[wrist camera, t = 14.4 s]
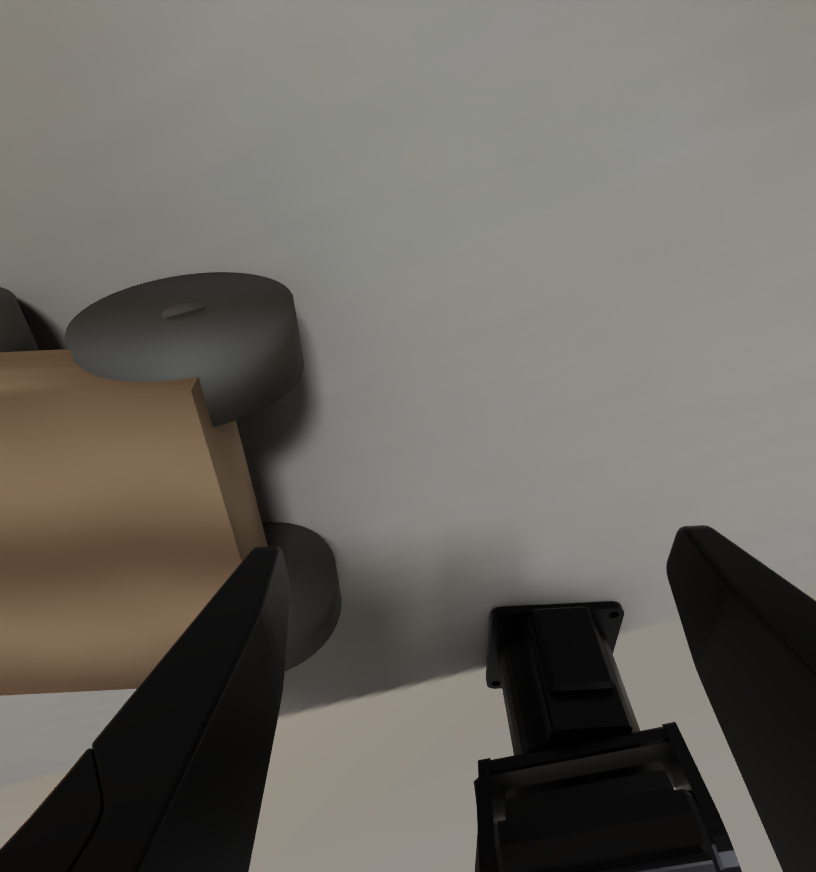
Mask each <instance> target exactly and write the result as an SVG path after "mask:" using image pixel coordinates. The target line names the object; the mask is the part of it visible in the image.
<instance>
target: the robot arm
mask: <svg viewBox="0 0 816 872" xmlns="http://www.w3.org/2000/svg"><path fill="white" fill-rule="evenodd" d="M666 568H667V576H668V580H669V583H670V587H671V590H672V593H673V596H674V600H675V603H676V606H677V609H678V613H679V616H680V619H681V622H682V626H683V629H684V632H685V635H686V639H687V642H688V645H689V648H690V652H691V655H692V658H693V661H694V664H695V667H696V670H697V672H698V674H699V677H700V679H701V682H702V684H703V687H704V689H705V691H706V694H707V696H708V698H709V701H710V703H711V705H712V708H713V710H714V712H715V715H716V717H717V719H718V722H719V724H720V726H721V728H722V731H723V733H724V735H725V738H726V740H727V743H728V745H729V747H730V749H731V752H732V754H733V756H734V758H735V761H736V763H737V766H738V768H739V770H740V773H741V775H742V777H743V780H744V782H745V784H746V786H747V789H748V791H749V794H750V796H751V798H752V800H753V803H754V805H755V808H756V810H757V812H758V814H759V817H760V819H761V821H762V824H763V826H764V828H765V830H766V833H767V835H768V838H769V840H770V842H771V845H772V847H773V849H774V852H775V854H776V856H777V858H778V861H779V863H780V866H781V868H782V870H783V872H816V601H815V600H814V599H812V598H811V597H810V596H808V595H807V594H805V593H804V592H802V591H801V590H800V589H798V588H797V587H795V586H794V585H792V584H791V583H790V582H788V581H787V580H785V579H784V578H783V577H781V576H780V575H778V574H777V573H775V572H774V571H773V570H771V569H770V568H768V567H767V566H765V565H764V564H763V563H761V562H760V561H758V560H757V559H756V558H754V557H753V556H751V555H750V554H748V553H747V552H746V551H744V550H743V549H741V548H740V547H738V546H737V545H736V544H734V543H733V542H731V541H730V540H729V539H727V538H726V537H724V536H723V535H721V534H720V533H719V532H717V531H716V530H714V529H713V528H711V527H709V526H705V525H700V526H684V527H681V528H680V529H679V530H678V531H677V533H676V536H675V539H674V542H673V545H672V548H671V551H670V554H669V557H668V560H667V567H666ZM289 603H290V583H289V578H288V573H287V569H286V565H285V560H284V556H283V552H282V550H281V549H280V548H279V547H277V546H271V547H256V548H254V549H252V550H251V551H250V552H249V553H248V555H247V556H246V557H245V558H244V559H243V561H242V562H241V563H240V564H239V566H238V567H237V568H236V569H235V570H234V572H233V573H232V574H231V575H230V576H229V578H228V579H227V580H226V581H225V583H224V584H223V585H222V586H221V587H220V589H219V590H218V591H217V592H216V594H215V595H214V596H213V597H212V598H211V600H210V601H209V602H208V603H207V604H206V606H205V607H204V608H203V609H202V611H201V612H200V613H199V614H198V615H197V617H196V618H195V619H194V620H193V621H192V623H191V624H190V625H189V626H188V628H187V629H186V630H185V631H184V632H183V634H182V635H181V636H180V637H179V639H178V640H177V641H176V642H175V643H174V645H173V646H172V647H171V648H170V649H169V651H168V652H167V653H166V654H165V656H164V657H163V658H162V659H161V660H160V662H159V663H158V664H157V665H156V666H155V668H154V669H153V670H152V671H151V673H150V674H149V675H148V676H147V677H146V679H145V680H144V681H143V682H142V684H141V685H140V686H139V687H138V688H137V690H136V691H135V692H134V693H133V694H132V696H131V697H130V698H129V699H128V701H127V702H126V703H125V704H124V705H123V707H122V708H121V709H120V710H119V711H118V713H117V714H116V715H115V716H114V718H113V719H112V720H111V721H110V722H109V724H108V725H107V726H106V727H105V729H104V730H103V731H102V732H101V733H100V735H99V736H98V737H97V738H96V739H95V741H94V742H93V744H92V748H93V749H87V750H86V751H85V752H84V754H83V755H82V756H81V757H80V759H79V760H78V761H77V762H76V763H75V765H74V766H73V767H72V768H71V770H70V771H69V772H68V773H67V774H66V776H65V777H64V778H63V779H62V780H61V782H60V783H59V784H58V785H57V786H56V787H55V788H54V790H53V791H52V792H51V793H50V794H49V795H48V797H47V798H46V799H45V800H44V801H43V803H42V804H41V805H40V806H39V807H38V808H37V809H36V811H35V812H34V813H33V814H32V815H31V817H30V818H29V819H28V820H27V821H26V822H25V823H24V824H23V825H22V826H21V827H20V828H19V830H18V831H17V832H16V833H15V834H14V835H13V836H12V837H11V838H10V839H9V840H8V842H6V844H5V845H4V846H3V847H2V848H1V849H0V872H248V871H249V866H250V860H251V854H252V850H253V845H254V840H255V834H256V829H257V824H258V819H259V813H260V808H261V803H262V798H263V793H264V787H265V782H266V777H267V771H268V767H269V761H270V756H271V750H272V745H273V740H274V735H275V730H276V725H277V720H278V714H279V709H280V703H281V697H282V691H283V681H284V671H285V657H286V644H287V630H288V616H289ZM623 616H624V611H623V608H622V606H621V604H620V603H618V602H597V603H577V604H557V605H537V606H517V607H500V608H496V609H494V610H493V611H492V612H491V615H490V628H489V642H488V655H487V668H486V682H487V686H488V687H489V688H495V689H496V688H502V689H503V695H504V701H505V706H506V712H507V718H508V723H509V729H510V735H511V740H512V746H513V752H514V756H510V757H505V758H499V759H494V760H491V759H490V758H488V759H483V760H478V774H479V777H478V778H477V779H476V780H475V781H474V786H475V795H476V803H477V820H478V835H477V849H476V863H475V872H742V871H741V868H740V865H739V862H738V860H737V857H736V854H735V851H734V849H733V846H732V844H731V841H730V838H729V836H728V833H727V831H726V829H725V826H724V824H723V822H722V819H721V818H720V815H719V813H718V811H717V808H716V806H715V804H714V802H713V800H712V798H711V796H710V794H709V792H708V789H707V787H706V785H705V783H704V781H703V779H702V777H701V775H700V773H699V771H698V768H697V766H696V764H695V762H694V760H693V758H692V756H691V754H690V752H689V750H688V748H687V745H686V743H685V741H684V739H683V737H682V735H681V733H680V731H679V729H678V727H677V725H676V723H675V722H672V723H667V724H662V726H663V727H659V728H654V729H648V730H643V731H640V729H639V726H638V723H637V721H636V718H635V716H634V713H633V710H632V707H631V704H630V701H629V699H628V696H627V693H626V690H625V687H624V685H623V682H622V679H621V676H620V673H619V671H618V668H617V665H616V662H615V660H614V657H613V651H614V647H615V644H616V640H617V637H618V633H619V630H620V627H621V623H622V620H623ZM673 787H675V788H676V790H674V788H673Z"/></svg>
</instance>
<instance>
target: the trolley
mask: <svg viewBox="0 0 816 872" xmlns="http://www.w3.org/2000/svg"><path fill="white" fill-rule="evenodd" d="M65 336H66V341H67V344H68V346H69V349H62V350H41V351H40V350H39V348H38V346H37V344H36V341H35V339H34V337H33V335H32V333H31V330H30V328H29V326H28V324H27V322H26V319H25V317H24V315H23V313H22V311H21V308H20V306H19V304H18V302H17V299H16V297H15V295H14V294H13V293H12V292H10V291H9V290H7V289H4V288H1V287H0V695H19V694H39V693H58V692H78V691H98V690H118V689H137V688H138V687H139V686H140V685H141V684H142V682H143V681H144V680H145V679H146V677H147V676H148V675H149V674H150V673H151V671H152V670H153V669H154V668H155V666H156V665H157V664H158V663H159V662H160V660H161V659H162V658H163V657H164V656H165V654H166V653H167V652H168V651H169V649H170V648H171V647H172V646H173V645H174V643H175V642H176V641H177V640H178V639H179V637H180V636H181V635H182V634H183V632H184V631H185V630H186V629H187V628H188V626H189V625H190V624H191V623H192V621H193V620H194V619H195V618H196V617H197V615H198V614H199V613H200V612H201V611H202V609H203V608H204V607H205V606H206V604H207V603H208V602H209V601H210V600H211V598H212V597H213V596H214V595H215V594H216V592H217V591H218V590H219V589H220V587H221V586H222V585H223V584H224V583H225V581H226V580H227V579H228V578H229V576H230V575H231V574H232V573H233V572H234V570H235V569H236V568H237V567H238V566H239V564H240V563H241V562H242V561H243V559H244V558H245V557H246V556H247V555H248V553H249V552H250V551H251V550H252V549H254V548H256V547H271V546H277V547H279V548H280V549H281V550H282V552H283V556H284V560H285V565H286V569H287V573H288V578H289V583H290V603H289V616H288V630H287V644H286V657H285V671H286V670H289V669H291V668H293V667H295V666H297V665H299V664H300V663H302V662H304V661H305V660H307V659H308V658H309V657H311V656H312V655H313V654H315V653H316V652H317V651H318V650H319V649H320V648H321V647H322V646H323V645H324V643H325V642H326V641H327V640H328V639H329V637H330V635H331V634H332V632H333V631H334V629H335V626H336V624H337V622H338V619H339V616H340V610H341V595H340V588H339V582H338V576H337V570H336V564H335V558H334V555H333V553H332V550H331V549H330V547H329V545H328V544H327V543H326V542H325V541H324V539H322V538H321V537H320V536H319V535H318V534H316V533H314V532H313V531H311V530H309V529H307V528H305V527H302V526H298V525H294V524H289V523H262V522H261V518H260V514H259V510H258V506H257V502H256V498H255V494H254V490H253V486H252V482H251V478H250V474H249V470H248V466H247V462H246V458H245V454H244V450H243V446H242V443H241V439H240V435H239V431H238V427H237V423H236V420H239V419H242V418H244V417H247V416H249V415H252V414H254V413H256V412H258V411H260V410H262V409H264V408H266V407H268V406H269V405H271V404H273V403H274V402H276V401H277V400H279V399H280V398H281V397H283V396H284V395H285V394H286V393H287V392H289V391H290V390H291V389H292V387H293V386H294V385H295V384H296V383H297V381H298V380H299V378H300V376H301V374H302V371H303V365H304V362H303V356H302V350H301V343H300V337H299V331H298V324H297V318H296V312H295V306H294V300H293V295H292V293H291V292H290V290H289V289H288V288H287V287H286V286H284V285H283V284H281V283H279V282H277V281H275V280H273V279H270V278H266V277H263V276H258V275H252V274H245V273H229V272H216V273H198V274H189V275H181V276H175V277H169V278H164V279H159V280H155V281H151V282H147V283H143V284H140V285H136V286H133V287H130V288H127V289H124V290H121V291H119V292H116V293H114V294H111V295H109V296H107V297H105V298H103V299H100V300H99V301H97V302H95V303H93V304H91V305H90V306H88V307H87V308H85V309H84V310H82V311H81V312H80V313H79V314H78V315H76V316H75V317H74V319H73V320H72V321H71V322H70V323H69V325H68V327H67V329H66V333H65Z"/></svg>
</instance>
